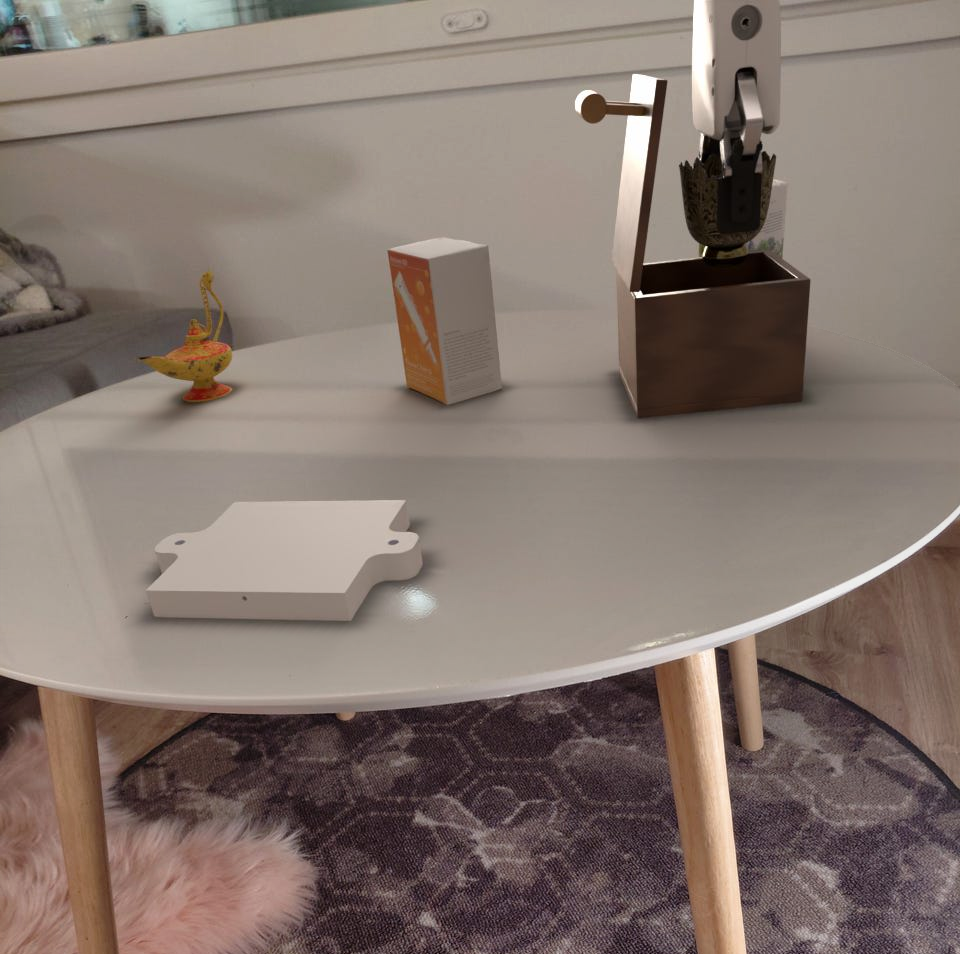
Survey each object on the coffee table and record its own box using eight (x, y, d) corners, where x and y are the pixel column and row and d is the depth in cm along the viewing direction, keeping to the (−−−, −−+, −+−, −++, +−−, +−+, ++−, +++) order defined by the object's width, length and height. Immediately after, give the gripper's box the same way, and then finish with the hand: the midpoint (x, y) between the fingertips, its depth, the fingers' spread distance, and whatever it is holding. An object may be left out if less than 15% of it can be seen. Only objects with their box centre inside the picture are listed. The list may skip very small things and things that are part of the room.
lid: (642, 74, 79) (574, 70, 79) (667, 80, 68) (588, 75, 68) (620, 261, 87) (557, 257, 86) (639, 292, 76) (568, 288, 76)
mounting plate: (118, 616, 61) (109, 590, 60) (209, 526, 72) (202, 502, 71) (391, 622, 57) (386, 593, 56) (444, 525, 67) (441, 499, 66)
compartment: (764, 359, 91) (769, 249, 86) (802, 402, 80) (810, 279, 75) (619, 374, 92) (615, 266, 87) (637, 419, 81) (634, 298, 76)
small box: (405, 388, 95) (385, 248, 89) (461, 372, 98) (445, 235, 91) (446, 406, 89) (427, 257, 82) (504, 389, 92) (490, 243, 85)
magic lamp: (125, 431, 93) (89, 314, 87) (209, 373, 108) (182, 269, 102) (189, 429, 92) (156, 310, 86) (265, 371, 106) (242, 265, 100)
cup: (783, 254, 81) (788, 148, 77) (756, 274, 76) (760, 162, 72) (697, 254, 85) (698, 153, 81) (666, 274, 80) (665, 167, 76)
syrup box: (731, 330, 101) (736, 176, 93) (779, 337, 96) (788, 177, 89) (695, 344, 98) (697, 186, 90) (743, 352, 94) (749, 188, 86)
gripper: (822, -58, 62) (803, 236, 71) (757, -39, 77) (748, 202, 86) (704, -42, 63) (700, 248, 72) (661, -27, 77) (663, 212, 87)
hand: (726, 221), depth 79 cm, fingers closed on cup, 7 cm apart
